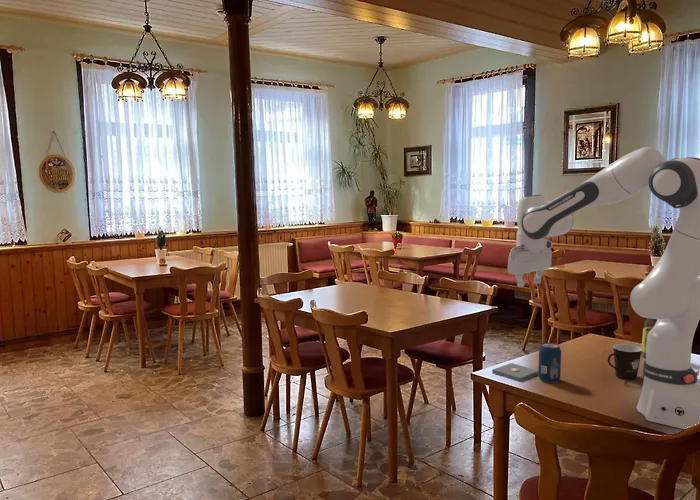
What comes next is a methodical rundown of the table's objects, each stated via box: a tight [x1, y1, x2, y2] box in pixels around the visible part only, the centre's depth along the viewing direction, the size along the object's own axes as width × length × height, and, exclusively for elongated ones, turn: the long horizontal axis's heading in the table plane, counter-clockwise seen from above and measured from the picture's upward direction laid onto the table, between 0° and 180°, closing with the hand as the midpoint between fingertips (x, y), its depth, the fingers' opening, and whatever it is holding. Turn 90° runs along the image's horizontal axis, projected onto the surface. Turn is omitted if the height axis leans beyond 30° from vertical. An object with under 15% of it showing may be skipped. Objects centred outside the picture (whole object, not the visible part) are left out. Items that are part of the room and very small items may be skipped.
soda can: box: [537, 342, 562, 384], centre depth 190 cm, size 7×7×12 cm
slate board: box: [491, 362, 538, 382], centre depth 197 cm, size 11×11×1 cm
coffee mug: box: [607, 343, 642, 381], centre depth 192 cm, size 12×9×10 cm
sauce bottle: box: [641, 318, 658, 359], centre depth 212 cm, size 6×6×20 cm
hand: (529, 284), depth 192 cm, fingers open, 8 cm apart
